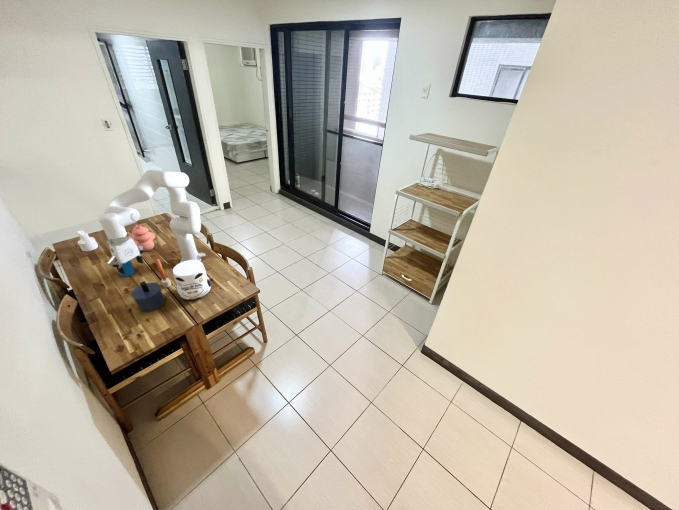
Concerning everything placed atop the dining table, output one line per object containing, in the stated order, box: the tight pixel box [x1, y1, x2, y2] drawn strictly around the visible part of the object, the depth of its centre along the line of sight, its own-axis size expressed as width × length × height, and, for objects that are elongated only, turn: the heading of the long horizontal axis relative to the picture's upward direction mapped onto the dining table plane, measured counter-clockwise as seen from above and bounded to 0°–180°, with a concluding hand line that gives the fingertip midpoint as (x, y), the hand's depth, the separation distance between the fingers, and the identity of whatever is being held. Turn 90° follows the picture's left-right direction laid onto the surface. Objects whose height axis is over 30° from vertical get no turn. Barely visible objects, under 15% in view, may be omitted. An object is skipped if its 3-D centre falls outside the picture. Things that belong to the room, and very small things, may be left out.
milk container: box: [172, 260, 212, 301], centre depth 154 cm, size 17×17×18 cm
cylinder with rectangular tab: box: [76, 229, 99, 252], centre depth 186 cm, size 9×9×12 cm
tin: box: [134, 288, 166, 313], centre depth 147 cm, size 12×12×9 cm
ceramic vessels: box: [127, 224, 156, 252], centre depth 194 cm, size 35×21×19 cm, turn 46°
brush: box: [155, 258, 172, 289], centre depth 157 cm, size 4×4×19 cm
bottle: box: [114, 260, 136, 277], centre depth 162 cm, size 7×7×30 cm
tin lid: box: [131, 281, 162, 300], centre depth 143 cm, size 13×13×6 cm
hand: (132, 267), depth 138 cm, fingers open, 9 cm apart
